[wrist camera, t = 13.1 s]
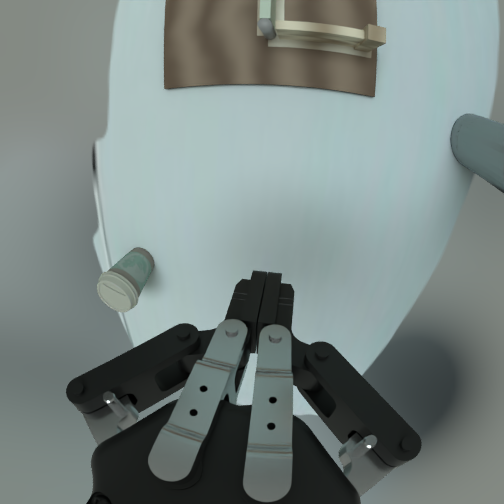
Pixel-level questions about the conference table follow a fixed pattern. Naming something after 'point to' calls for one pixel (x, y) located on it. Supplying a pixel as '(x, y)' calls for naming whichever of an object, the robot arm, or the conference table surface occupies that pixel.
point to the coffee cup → (125, 280)
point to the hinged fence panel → (267, 18)
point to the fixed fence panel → (333, 34)
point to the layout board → (265, 45)
